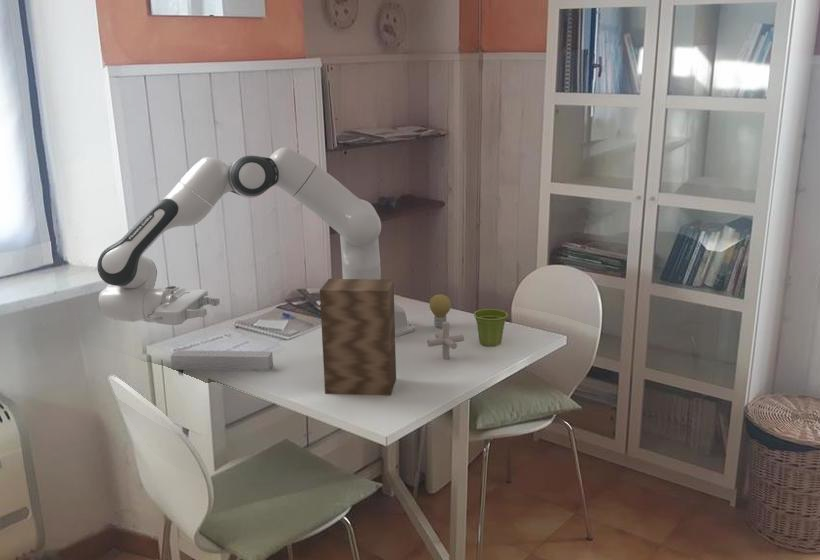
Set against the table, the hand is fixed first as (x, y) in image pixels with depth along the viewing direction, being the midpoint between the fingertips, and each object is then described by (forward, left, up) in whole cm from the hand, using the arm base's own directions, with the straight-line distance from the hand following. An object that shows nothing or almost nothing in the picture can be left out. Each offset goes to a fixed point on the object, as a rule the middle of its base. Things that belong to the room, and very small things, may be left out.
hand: (212, 307), depth 201 cm
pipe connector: (-52, +30, -17) cm, 63 cm away
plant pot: (-69, +28, -17) cm, 77 cm away
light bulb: (-66, +8, -17) cm, 69 cm away
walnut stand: (-24, +33, -17) cm, 45 cm away
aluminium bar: (-1, +1, -17) cm, 17 cm away
